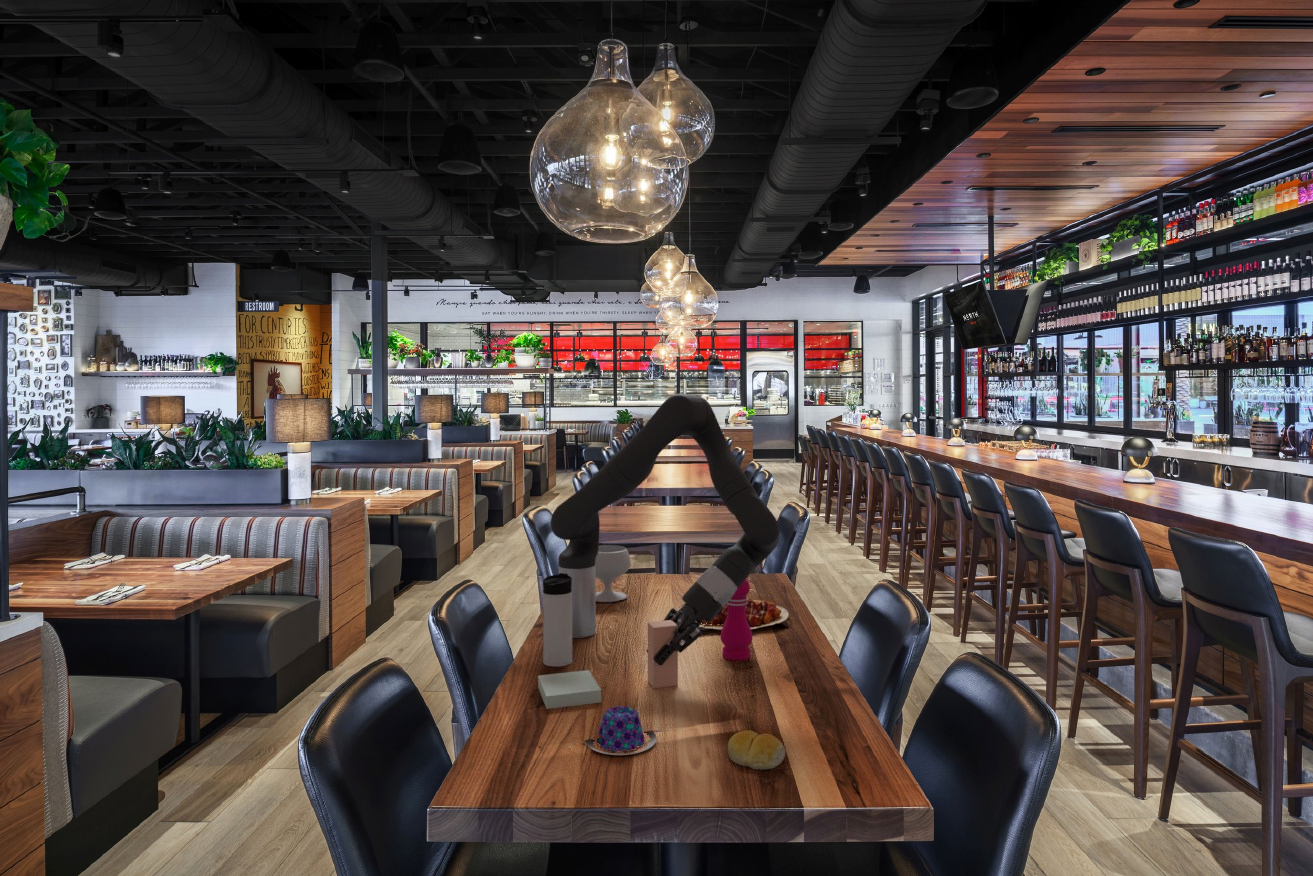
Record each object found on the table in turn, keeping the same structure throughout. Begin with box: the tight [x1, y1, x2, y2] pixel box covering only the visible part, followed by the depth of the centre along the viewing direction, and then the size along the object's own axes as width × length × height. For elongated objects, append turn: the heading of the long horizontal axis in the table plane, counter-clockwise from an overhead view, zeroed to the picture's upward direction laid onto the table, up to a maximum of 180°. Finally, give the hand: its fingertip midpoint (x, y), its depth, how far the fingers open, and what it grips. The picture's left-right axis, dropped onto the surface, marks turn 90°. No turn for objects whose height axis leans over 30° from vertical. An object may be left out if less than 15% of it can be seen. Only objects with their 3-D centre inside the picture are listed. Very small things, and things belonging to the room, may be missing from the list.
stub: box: [647, 620, 679, 689], centre depth 144 cm, size 5×4×12 cm
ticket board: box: [537, 669, 602, 710], centre depth 141 cm, size 32×12×4 cm, turn 107°
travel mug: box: [542, 573, 573, 667], centre depth 158 cm, size 6×7×20 cm
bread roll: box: [727, 729, 786, 771], centre depth 116 cm, size 8×9×4 cm
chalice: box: [595, 544, 632, 603], centre depth 217 cm, size 14×14×15 cm
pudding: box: [584, 705, 657, 756], centre depth 122 cm, size 12×12×5 cm
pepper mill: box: [720, 578, 753, 662], centre depth 165 cm, size 7×7×20 cm
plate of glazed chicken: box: [675, 598, 791, 631], centre depth 194 cm, size 31×35×7 cm
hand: (653, 658), depth 144 cm, fingers closed on stub, 4 cm apart
